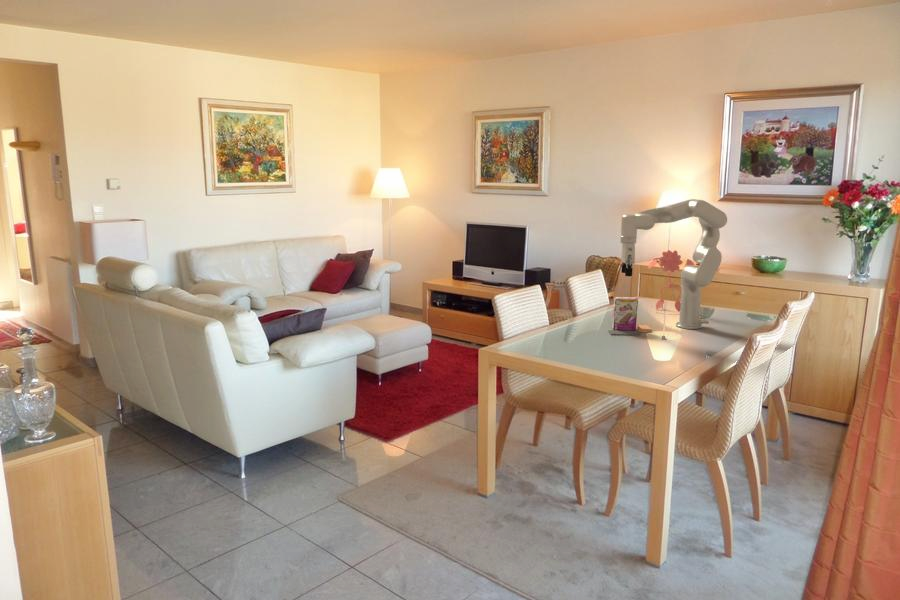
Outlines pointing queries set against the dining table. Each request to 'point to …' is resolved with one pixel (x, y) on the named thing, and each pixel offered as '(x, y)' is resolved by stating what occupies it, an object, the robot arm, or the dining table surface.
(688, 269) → the robot arm
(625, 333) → the rubber pad
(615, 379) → the dining table surface
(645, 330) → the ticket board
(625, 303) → the candy bar box
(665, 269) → the pink artificial flower
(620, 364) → the dining table surface
